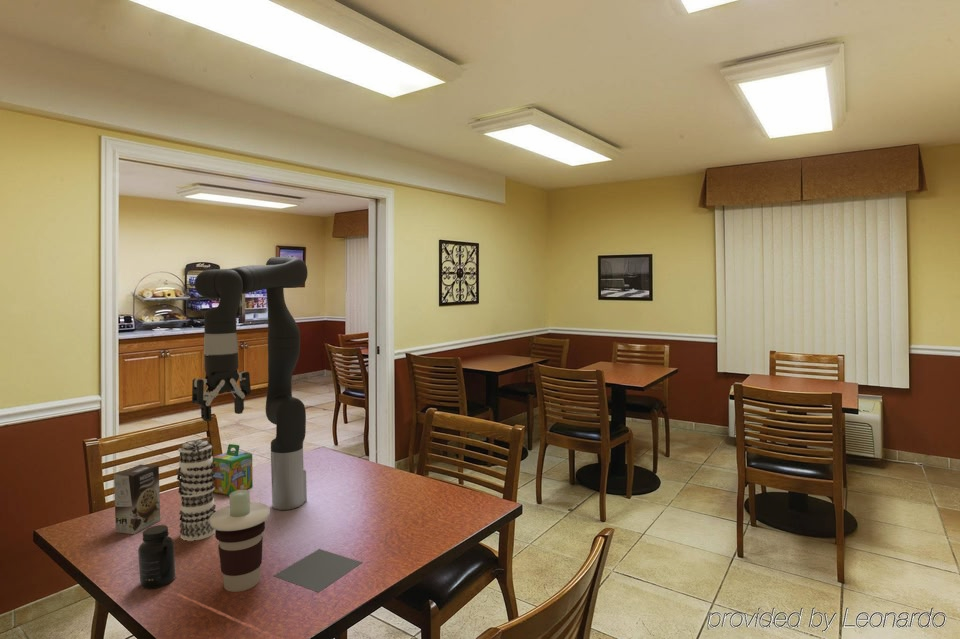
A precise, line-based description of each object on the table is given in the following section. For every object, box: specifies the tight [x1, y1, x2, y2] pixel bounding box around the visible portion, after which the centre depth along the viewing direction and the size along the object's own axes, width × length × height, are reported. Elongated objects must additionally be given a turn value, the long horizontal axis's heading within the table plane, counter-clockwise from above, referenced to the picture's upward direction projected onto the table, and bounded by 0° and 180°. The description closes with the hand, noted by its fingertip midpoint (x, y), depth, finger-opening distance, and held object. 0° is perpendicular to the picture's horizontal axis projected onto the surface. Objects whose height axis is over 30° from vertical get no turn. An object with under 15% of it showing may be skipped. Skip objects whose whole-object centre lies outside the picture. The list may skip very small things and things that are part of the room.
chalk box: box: [212, 443, 254, 497], centre depth 172 cm, size 9×9×15 cm
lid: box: [210, 489, 271, 531], centre depth 115 cm, size 12×12×6 cm
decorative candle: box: [176, 439, 217, 542], centre depth 140 cm, size 9×9×25 cm
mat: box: [273, 548, 364, 593], centre depth 121 cm, size 14×14×1 cm
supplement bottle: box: [137, 524, 176, 590], centre depth 117 cm, size 7×7×12 cm
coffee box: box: [113, 464, 161, 535], centre depth 145 cm, size 9×6×16 cm
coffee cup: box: [214, 520, 266, 593], centre depth 116 cm, size 10×10×15 cm
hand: (223, 417), depth 129 cm, fingers open, 8 cm apart
